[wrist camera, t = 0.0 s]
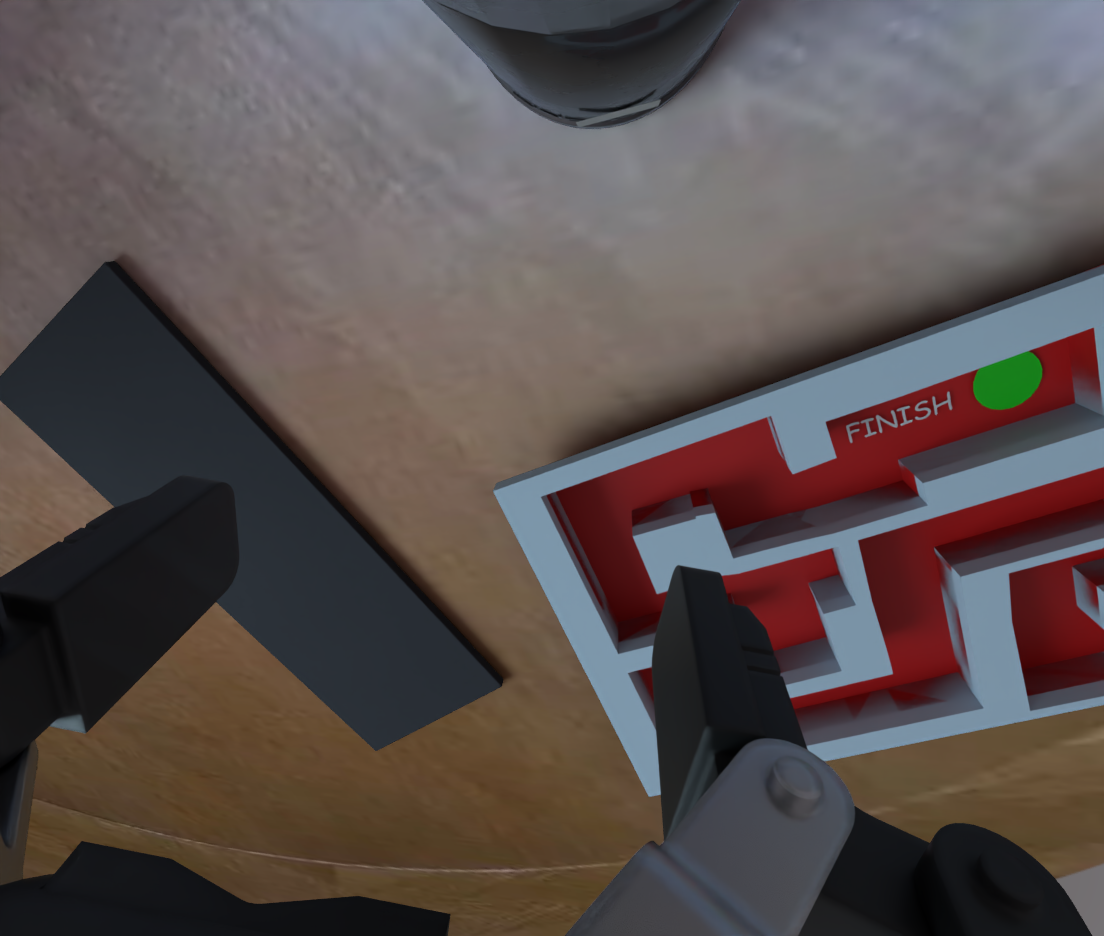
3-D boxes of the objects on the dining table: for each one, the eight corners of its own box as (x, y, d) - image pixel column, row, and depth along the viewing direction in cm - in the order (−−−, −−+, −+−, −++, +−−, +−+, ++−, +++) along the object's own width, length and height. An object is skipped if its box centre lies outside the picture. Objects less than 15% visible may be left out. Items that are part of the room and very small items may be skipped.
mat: (-2, 385, 30) (-13, 389, 29) (114, 260, 27) (104, 261, 26) (379, 743, 38) (375, 751, 37) (504, 679, 35) (502, 686, 34)
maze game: (646, 748, 36) (649, 796, 33) (505, 461, 29) (493, 491, 26) (1393, 581, 27) (1486, 627, 24) (1438, 119, 20) (1574, 106, 17)
